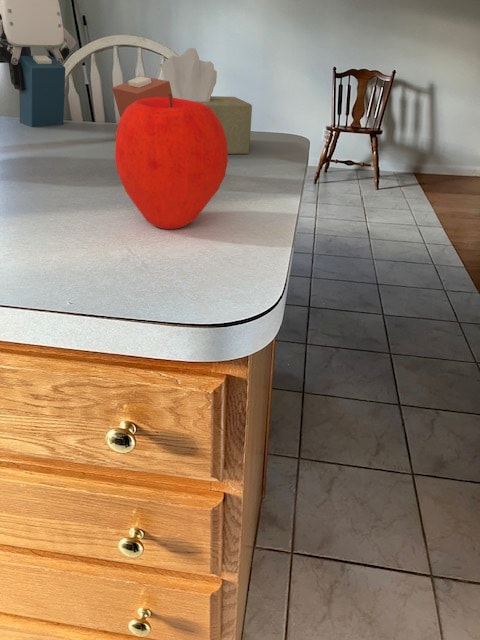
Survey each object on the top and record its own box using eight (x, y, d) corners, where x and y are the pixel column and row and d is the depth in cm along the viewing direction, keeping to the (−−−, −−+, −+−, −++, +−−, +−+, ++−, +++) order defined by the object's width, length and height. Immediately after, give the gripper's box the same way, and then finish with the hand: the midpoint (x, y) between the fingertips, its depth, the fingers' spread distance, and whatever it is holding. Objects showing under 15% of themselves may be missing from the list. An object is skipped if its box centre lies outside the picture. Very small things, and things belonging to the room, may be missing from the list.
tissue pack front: (136, 88, 66) (168, 76, 68) (110, 82, 70) (141, 71, 72) (159, 184, 74) (188, 170, 76) (135, 174, 78) (163, 161, 80)
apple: (247, 228, 60) (255, 99, 54) (160, 251, 53) (157, 105, 46) (181, 201, 67) (181, 85, 61) (98, 218, 60) (87, 88, 54)
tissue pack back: (65, 63, 93) (52, 52, 95) (31, 64, 89) (18, 51, 91) (63, 133, 101) (50, 120, 103) (31, 136, 97) (19, 123, 99)
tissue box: (234, 142, 101) (239, 48, 94) (251, 154, 93) (257, 52, 86) (133, 143, 96) (129, 43, 88) (141, 155, 88) (137, 47, 80)
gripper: (63, -26, 95) (73, 85, 104) (-40, -37, 85) (-20, 88, 94) (84, -27, 90) (92, 90, 99) (-23, -38, 80) (-3, 93, 89)
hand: (38, 87), depth 96 cm, fingers closed on tissue pack back, 6 cm apart
